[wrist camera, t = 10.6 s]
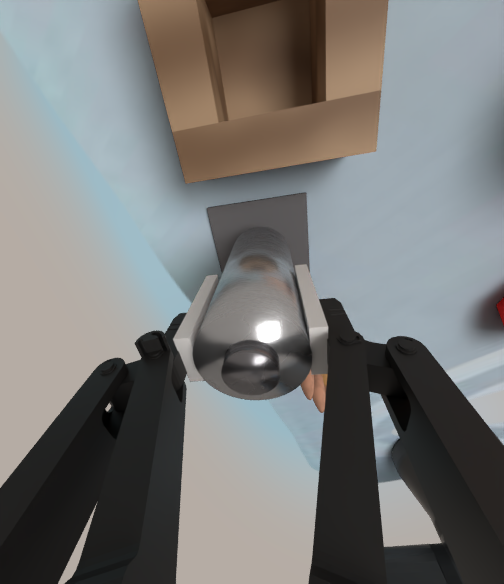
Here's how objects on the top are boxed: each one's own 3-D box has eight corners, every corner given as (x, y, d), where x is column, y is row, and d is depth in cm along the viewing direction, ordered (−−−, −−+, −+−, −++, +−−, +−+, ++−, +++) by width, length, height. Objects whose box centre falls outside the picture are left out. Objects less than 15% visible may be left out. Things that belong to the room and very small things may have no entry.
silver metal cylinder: (291, 277, 23) (316, 413, 11) (238, 283, 23) (204, 417, 11) (287, 222, 20) (313, 318, 8) (227, 230, 21) (170, 330, 9)
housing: (347, 153, 20) (376, 151, 14) (206, 177, 21) (185, 183, 16) (355, -84, 14) (406, -228, 9) (161, -26, 15) (106, -121, 10)
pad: (309, 282, 25) (310, 284, 25) (227, 291, 27) (226, 293, 26) (305, 192, 21) (306, 193, 21) (207, 207, 22) (206, 208, 22)
